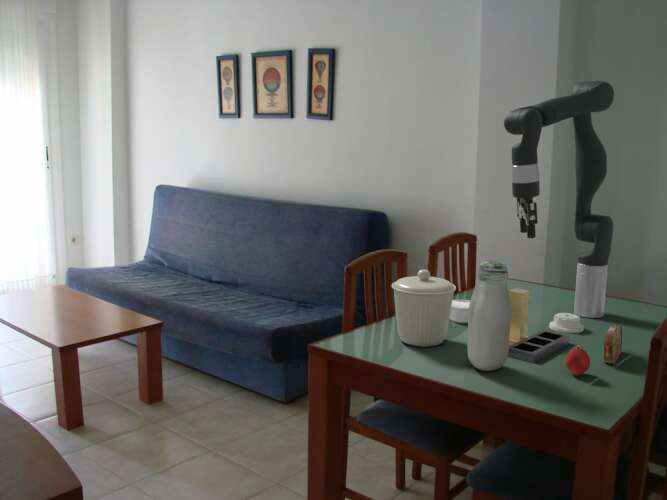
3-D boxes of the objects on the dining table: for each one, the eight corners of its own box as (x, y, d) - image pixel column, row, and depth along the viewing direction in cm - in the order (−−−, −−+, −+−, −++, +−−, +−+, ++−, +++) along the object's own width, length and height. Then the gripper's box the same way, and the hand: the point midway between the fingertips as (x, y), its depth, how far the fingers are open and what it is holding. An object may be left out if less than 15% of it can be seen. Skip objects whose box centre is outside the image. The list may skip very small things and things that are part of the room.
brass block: (505, 337, 187) (508, 290, 184) (512, 333, 190) (515, 288, 188) (519, 340, 184) (522, 293, 181) (526, 337, 187) (529, 290, 185)
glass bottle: (483, 378, 156) (488, 266, 151) (459, 364, 166) (463, 258, 161) (515, 372, 160) (522, 263, 155) (490, 359, 169) (495, 255, 164)
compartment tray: (533, 363, 167) (533, 354, 166) (505, 356, 172) (505, 347, 172) (569, 344, 182) (569, 335, 182) (542, 337, 188) (543, 329, 187)
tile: (499, 338, 187) (499, 337, 187) (511, 333, 192) (511, 332, 192) (521, 344, 182) (521, 342, 182) (533, 338, 187) (533, 337, 187)
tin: (613, 368, 164) (615, 337, 162) (600, 366, 165) (602, 334, 164) (622, 351, 176) (624, 322, 175) (609, 349, 178) (612, 320, 176)
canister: (416, 328, 197) (418, 260, 193) (466, 341, 184) (469, 270, 180) (377, 341, 184) (378, 269, 180) (427, 356, 172) (430, 280, 168)
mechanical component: (551, 333, 193) (586, 335, 191) (552, 319, 192) (587, 320, 190) (547, 323, 203) (580, 325, 201) (548, 310, 202) (581, 312, 200)
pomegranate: (560, 371, 161) (562, 341, 160) (582, 371, 162) (584, 340, 160) (570, 380, 156) (572, 349, 154) (593, 380, 156) (595, 348, 155)
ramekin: (478, 315, 211) (478, 299, 210) (483, 325, 200) (484, 308, 200) (443, 314, 212) (444, 298, 211) (447, 324, 201) (448, 307, 200)
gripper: (545, 181, 177) (547, 238, 180) (532, 176, 190) (534, 229, 194) (517, 184, 177) (520, 241, 180) (507, 178, 191) (509, 231, 194)
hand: (527, 235), depth 187 cm, fingers open, 8 cm apart
